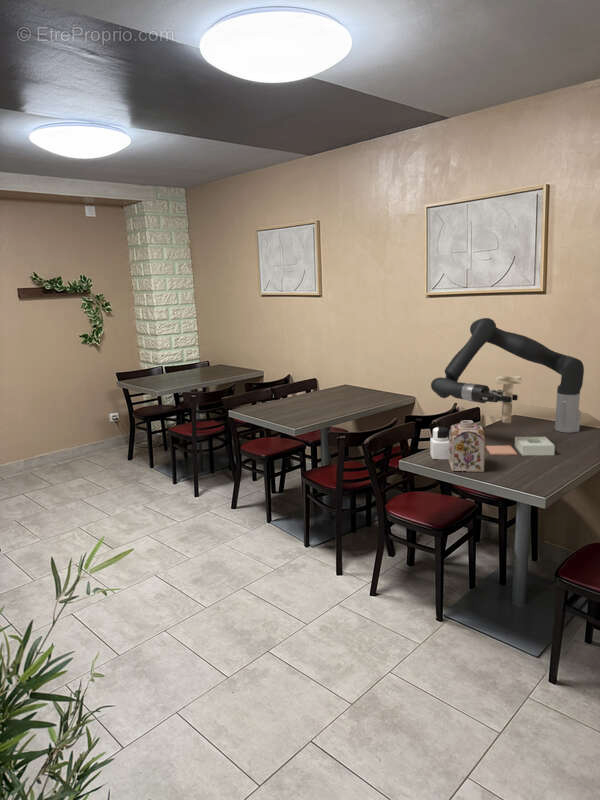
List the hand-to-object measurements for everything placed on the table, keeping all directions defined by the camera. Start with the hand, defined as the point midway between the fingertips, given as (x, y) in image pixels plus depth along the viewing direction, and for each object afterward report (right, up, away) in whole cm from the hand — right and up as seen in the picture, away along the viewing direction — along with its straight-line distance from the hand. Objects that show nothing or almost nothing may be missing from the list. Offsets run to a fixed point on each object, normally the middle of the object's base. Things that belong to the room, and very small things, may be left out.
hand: (513, 398), depth 220 cm
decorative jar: (-22, -26, -9) cm, 35 cm away
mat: (-3, -21, +7) cm, 23 cm away
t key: (-2, -9, +4) cm, 10 cm away
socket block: (+10, -21, +5) cm, 24 cm away
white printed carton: (-28, -24, +4) cm, 37 cm away
